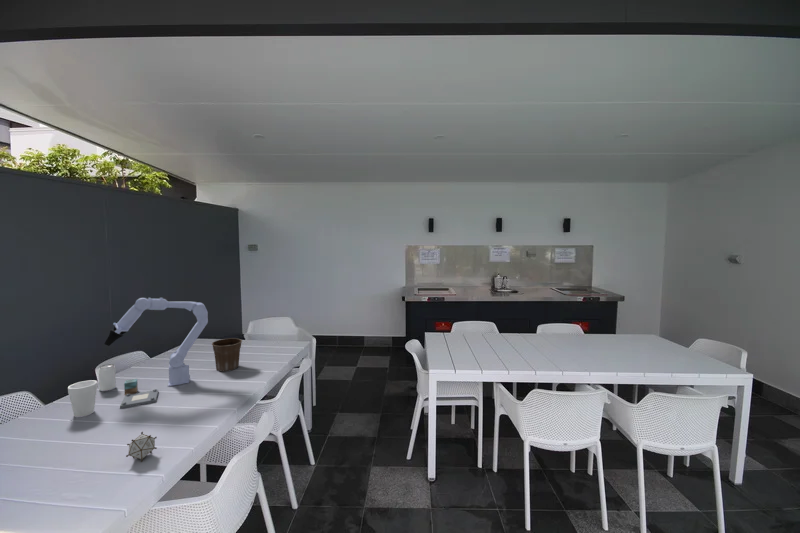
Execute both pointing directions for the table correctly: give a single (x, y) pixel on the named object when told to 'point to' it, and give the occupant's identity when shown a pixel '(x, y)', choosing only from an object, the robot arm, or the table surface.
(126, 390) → the teal and brown block
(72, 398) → the foam cup
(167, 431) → the table surface
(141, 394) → the plate
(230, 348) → the plant pot
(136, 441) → the game die
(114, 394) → the table surface
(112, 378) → the grey cylinder
